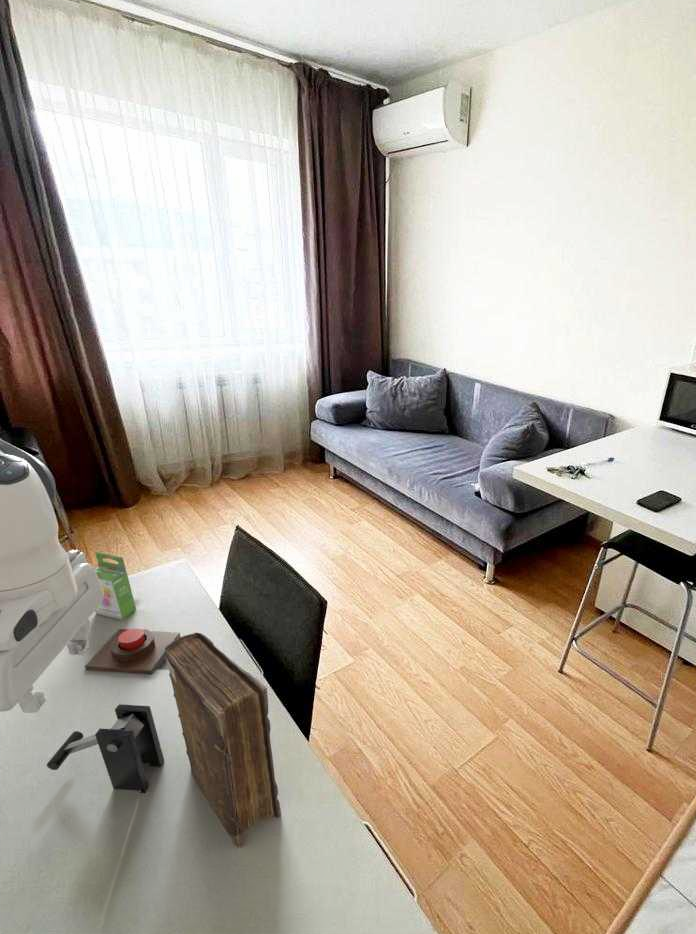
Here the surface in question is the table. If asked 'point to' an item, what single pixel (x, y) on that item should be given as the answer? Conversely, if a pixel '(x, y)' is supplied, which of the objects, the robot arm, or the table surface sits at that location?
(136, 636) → the button
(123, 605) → the ink box
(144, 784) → the bracket
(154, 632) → the button block
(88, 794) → the table surface
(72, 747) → the lever
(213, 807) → the book
